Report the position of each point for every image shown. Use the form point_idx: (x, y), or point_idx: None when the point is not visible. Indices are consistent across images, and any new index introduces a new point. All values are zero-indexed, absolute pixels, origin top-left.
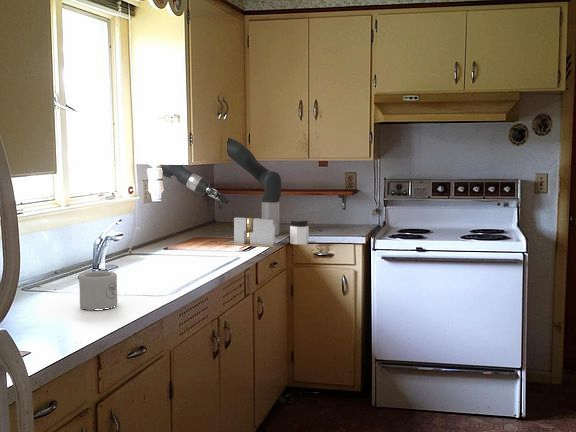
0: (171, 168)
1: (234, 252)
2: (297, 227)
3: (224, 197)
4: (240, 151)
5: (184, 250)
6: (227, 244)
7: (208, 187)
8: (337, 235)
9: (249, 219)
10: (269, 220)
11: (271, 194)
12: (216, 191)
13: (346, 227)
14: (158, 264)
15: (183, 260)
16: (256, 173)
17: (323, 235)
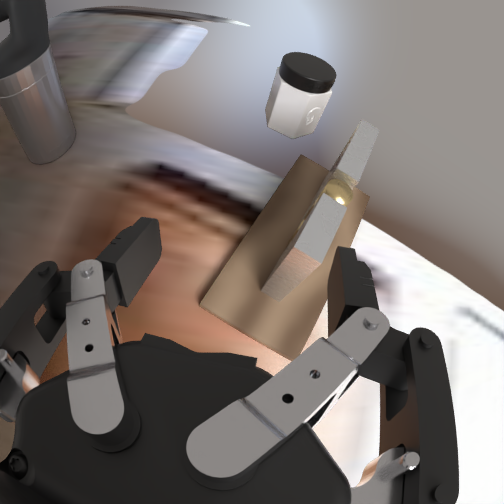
0: None
1: (405, 317)
2: (331, 91)
3: (371, 275)
4: None
5: (351, 483)
6: (304, 332)
7: (449, 499)
8: (146, 41)
9: (350, 196)
10: (375, 139)
11: (38, 25)
12: (443, 362)
13: (60, 33)
14: (493, 471)
15: (477, 438)
16: None
17: (133, 55)
